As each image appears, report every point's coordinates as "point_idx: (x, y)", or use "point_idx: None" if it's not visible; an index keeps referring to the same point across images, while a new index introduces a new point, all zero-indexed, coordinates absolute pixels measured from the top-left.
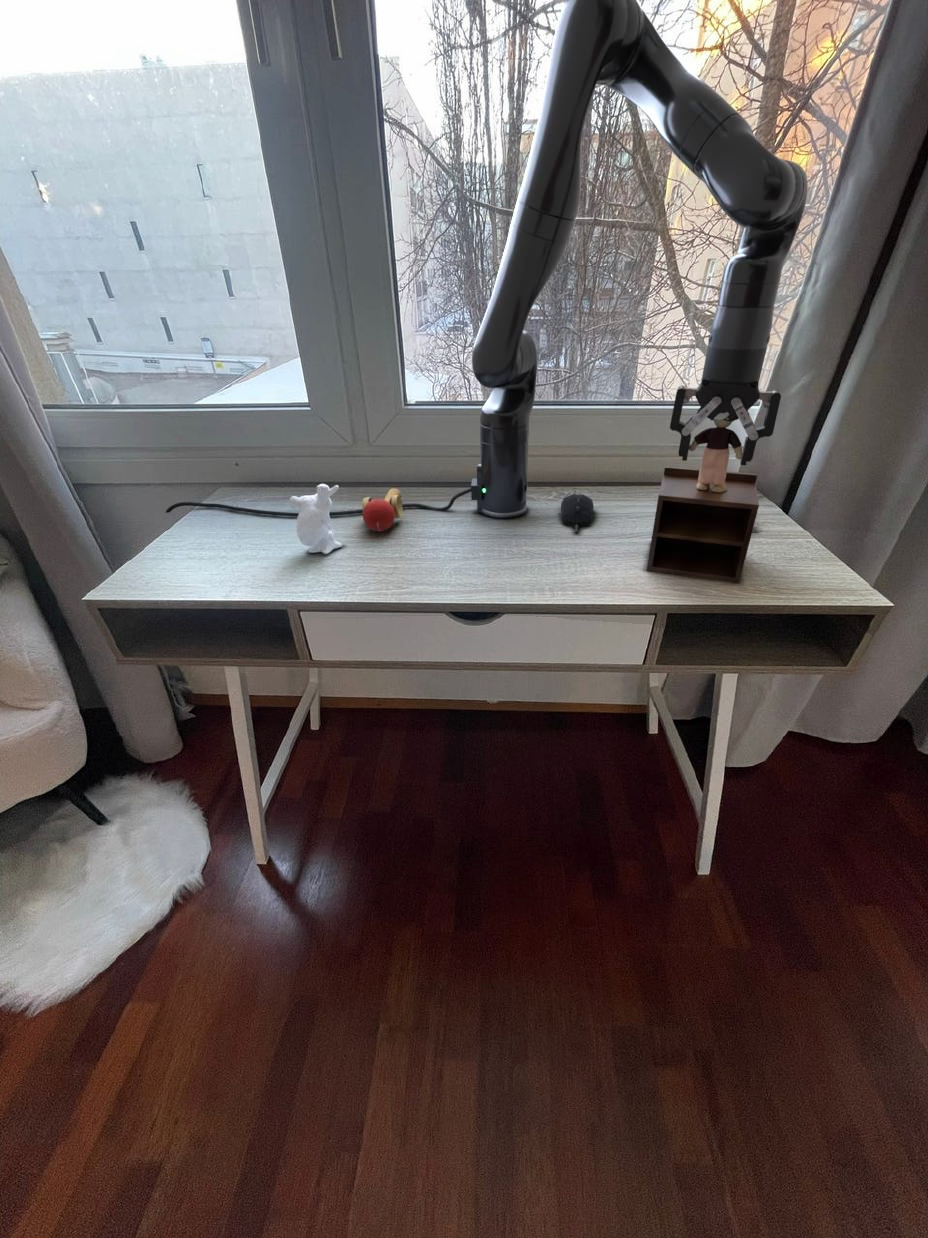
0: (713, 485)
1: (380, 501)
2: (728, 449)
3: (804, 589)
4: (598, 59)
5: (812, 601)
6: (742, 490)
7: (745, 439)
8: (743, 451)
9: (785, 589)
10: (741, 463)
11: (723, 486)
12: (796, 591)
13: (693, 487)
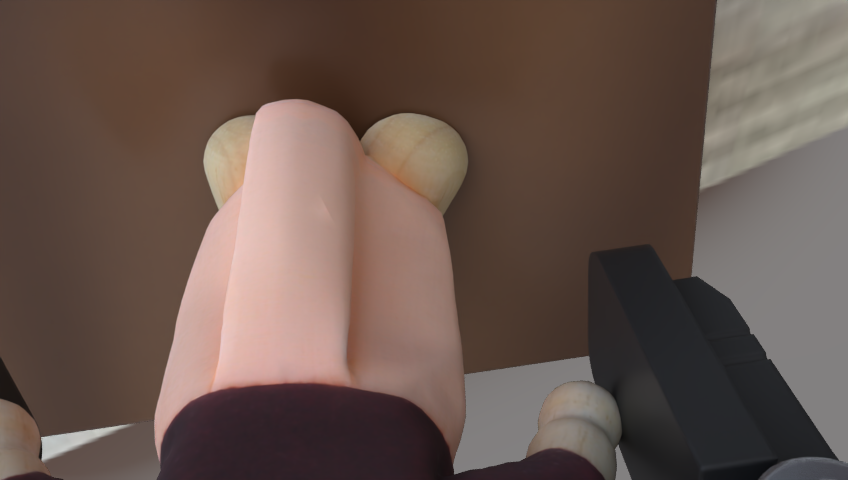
0: (340, 77)
1: None
2: (454, 457)
3: (818, 33)
4: None
5: (821, 126)
6: (592, 106)
7: (684, 460)
8: (631, 433)
9: (738, 68)
10: (597, 378)
11: (438, 207)
12: (780, 67)
13: (193, 200)
